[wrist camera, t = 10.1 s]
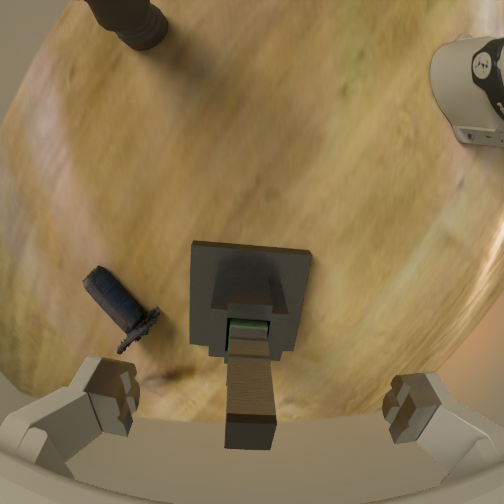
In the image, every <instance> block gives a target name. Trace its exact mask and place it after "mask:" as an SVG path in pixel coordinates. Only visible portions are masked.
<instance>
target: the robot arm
mask: <svg viewBox="0 0 504 504" xmlns="http://www.w3.org/2000/svg"><path fill="white" fill-rule="evenodd" d="M430 78H431V85H432V90H433V93H434V96H435V99H436V101H437V103H438V105H439V107H440V109H441V110H442V112H443V113H444V114H445V116H446V117H447V118H448V120H449V121H450V122H451V124H452V127H453V130H454V133H455V135H456V138H457V140H458V141H459V142H460V143H464V144H476V145H486V146H495V147H504V37H499V38H497V37H496V36H494V35H487V36H479V37H472V36H471V35H469V34H461V35H460V36H459V37H458V38H457V40H456V41H455V42H452V43H449V44H445V45H443V46H442V47H440V48H439V49H438V50H437V52H436V53H435V55H434V57H433V59H432V63H431V69H430ZM468 134H469V138H468ZM136 374H137V371H136V367H135V364H133V363H129V362H124V361H119V360H114V359H109V358H105V357H104V358H103V357H98V356H94V355H89V356H87V357H86V359H85V360H84V362H83V363H82V365H81V367H80V368H79V370H78V372H77V373H76V375H75V376H74V378H73V380H72V381H71V383H70V385H69V387H68V388H67V387H62V388H60V389H58V390H57V391H55V392H53V393H51V394H49V395H47V396H45V397H43V398H41V399H39V400H37V401H35V402H33V403H31V404H29V405H27V406H25V407H23V408H21V409H19V410H17V411H15V412H13V413H11V414H9V415H8V416H7V417H6V419H5V420H4V422H3V424H2V425H1V427H0V504H172V503H166V502H161V501H155V500H150V499H145V498H140V497H135V496H131V495H127V494H123V493H119V492H115V491H111V490H107V489H104V488H100V487H97V486H94V485H90V484H87V483H84V482H81V481H78V480H75V479H74V476H73V474H72V473H71V471H70V470H69V468H68V467H67V465H66V464H65V462H66V461H68V460H69V459H70V458H71V457H73V456H74V455H75V454H77V453H78V452H79V451H80V450H82V449H83V448H84V447H86V446H87V445H88V444H89V443H90V442H92V441H93V440H94V439H95V438H97V437H98V436H99V435H101V434H102V432H106V433H111V434H115V435H120V436H126V437H127V436H128V434H129V431H130V428H131V425H132V422H133V420H132V416H131V414H132V413H134V412H135V411H137V408H138V405H139V398H140V387H139V383H138V382H137V381H136V380H135V376H136ZM391 387H392V389H391V390H390V391H389V392H387V393H386V395H385V397H384V399H383V405H382V411H383V415H384V418H385V420H386V421H388V422H389V423H390V424H391V425H390V428H389V431H390V434H391V436H392V439H393V442H394V444H399V443H406V442H412V441H416V443H417V444H418V445H420V447H422V448H423V449H424V450H425V451H426V452H427V453H428V454H429V455H431V456H432V457H433V458H434V459H435V460H436V461H437V462H438V463H439V464H440V465H442V466H443V467H444V468H445V469H446V470H447V471H448V472H449V473H448V475H447V476H446V477H445V478H444V479H443V480H442V481H441V483H440V485H439V486H436V487H433V488H429V489H426V490H422V491H418V492H415V493H411V494H406V495H403V496H398V497H393V498H389V499H384V500H379V501H373V502H367V503H362V504H504V429H503V428H501V427H500V426H498V425H496V424H495V423H493V422H491V421H490V420H488V419H486V418H485V417H483V416H481V415H480V414H478V413H476V412H475V411H473V410H471V409H470V408H468V407H466V406H465V405H463V404H461V403H460V402H455V401H454V400H453V398H452V396H451V395H450V393H449V392H448V390H447V388H446V387H445V385H444V384H443V382H442V380H441V379H440V377H439V376H438V374H437V373H436V372H434V371H431V372H423V373H415V374H404V375H396V376H395V377H394V378H393V380H392V382H391Z"/></svg>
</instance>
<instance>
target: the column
mask: <svg viewBox="0 0 504 504" xmlns="http://www.w3.org/2000/svg"><path fill="white" fill-rule="evenodd" d="M267 330H268V325H267V322H266V321H265V320H253V319H239V318H231V319H230V330H229V343H228V365H227V368H228V370H227V383H226V386H227V402H226V423H225V446H224V448H227V449H245V450H270V448H271V445H272V441H273V437H274V433H275V430H276V426H277V420H276V411H275V402H274V393H273V384H272V375H271V366H270V362H271V356H269V348H268V344H269V339H267Z"/></svg>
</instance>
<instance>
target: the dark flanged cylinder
mask: <svg viewBox="0 0 504 504" xmlns="http://www.w3.org/2000/svg"><path fill="white" fill-rule="evenodd" d="M83 284H84V288H85V289H86V291H87V292H88V293H89V294H90V295H91V296H92V297H93V299H94V300H95V301H96V302H97V303H98V304H99V306H100V307H101V308H102V309H103V310H104V311H105V312H106V313H107V314H108V315H109V316H110V317H111V319H112V320H113V321H114V322H115V323H116V324H117V325H118V326H119V327H120V328H121V329H122V330H123V331H124V332H125V333H126V334H127V337H126V339H124V342H122V341H121V345H120V346H118V351H117V353H118V354H122V352H123V351H125V350H126V347H127V346H128V347H129V345H131V343H132V341H134V340H135V342H136V340H137V341H139V340H140V339H141V335H147V334H148V332H149V330H150V329H149V328H148V327H150V326H152V325H153V324H155V323H157V316H158V315H159V314H160V313H159V308H157V307H156V308H153V310H151V311H150V312H149V313H148V314H147V315H144V314H143V313H142V309H141V307H139V305H138V304H137V303H136V302H135V301H134V300H133V299H132V298H131V297H130V296H129V295H128V293H126V291H125V290H124V289H123V288H122V287H121V286H120V285H119V284H118V282H117V281H116V280H115V279H114V278H113V277H112V275H111V274H110V273H109V272H108V271H107V270H106V269H105V268H104V267H101V266H97V268H96V269H93V271H91V273H90V274H88V276H87V277H86V278H85V279H84V280H83ZM153 318H154V319H153ZM152 319H153V320H152Z"/></svg>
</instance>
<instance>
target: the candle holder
mask: <svg viewBox="0 0 504 504" xmlns="http://www.w3.org/2000/svg"><path fill="white" fill-rule="evenodd" d="M84 1H86V2H87V3H88V4H89V6H90V8H91V10H92V12H93V14H94V16H95V18H96V20H97V22H98V24H99V25H101V26H102V27H103V28H104V29H106V30H108V31H113V32H116V34H117V35H118V37H119V39H121V40H122V41H123V42H124V43H126V44H127V45H128V46H130V47H131V48H133V49H137V50H146V49H150V48H152V47H154V46H156V45H158V44H159V43H160V42H161V41H162V40H163V39H164V37H165V35H166V33H167V29H168V23H167V20H166V18H165V16H164V15H163V14H162V12H161V11H160V9H159V8H157V7H156V6H155V5H153V4H151V3H150V0H84Z"/></svg>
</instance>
